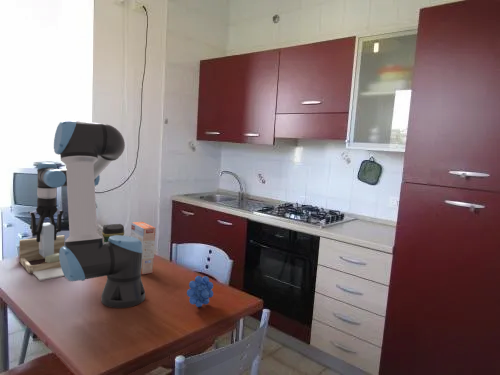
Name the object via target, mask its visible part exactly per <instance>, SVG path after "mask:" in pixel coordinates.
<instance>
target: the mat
mask: <svg viewBox="0 0 500 375" xmlns="http://www.w3.org/2000/svg"><path fill="white" fill-rule="evenodd" d="M32 274H33V275H34V276H35V277H36V278H37V280H39V281H45V280H50V279H56V278H62V277H65V276H64V274H63V271H62V268H61V267H58V268H52V269H46V270H40V271H34V272H33V273H32Z"/></svg>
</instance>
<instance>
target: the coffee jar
mask: <svg viewBox="0 0 500 375" xmlns="http://www.w3.org/2000/svg"><path fill="white" fill-rule="evenodd" d="M101 234H102V235H101V236H102V238H103V242H108V239H109V237H110V236H115V235H121V236H125V227H124V225H123V224H121V223H110V224H103V226H102V231H101Z"/></svg>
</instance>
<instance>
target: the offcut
mask: <svg viewBox="0 0 500 375" xmlns="http://www.w3.org/2000/svg"><path fill="white" fill-rule="evenodd" d="M57 261H60V259H59V253H57V254H53V255H49V256H46V257H45V259H44V262H47V263H51V262H57Z"/></svg>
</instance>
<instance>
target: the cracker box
mask: <svg viewBox="0 0 500 375" xmlns="http://www.w3.org/2000/svg"><path fill="white" fill-rule="evenodd" d="M130 226H131V227H130V228H131V230H130V232H131V233H130V237H134V238H137V239H139V240H140V241H141V242H142V251H143V253H142V265H141V276H142V275H148V274H154V264H155V263H154V261H155V245H156V227H155V226H152V225H151V224H148V223H146V222H144V221H133V222H131V224H130Z"/></svg>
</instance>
